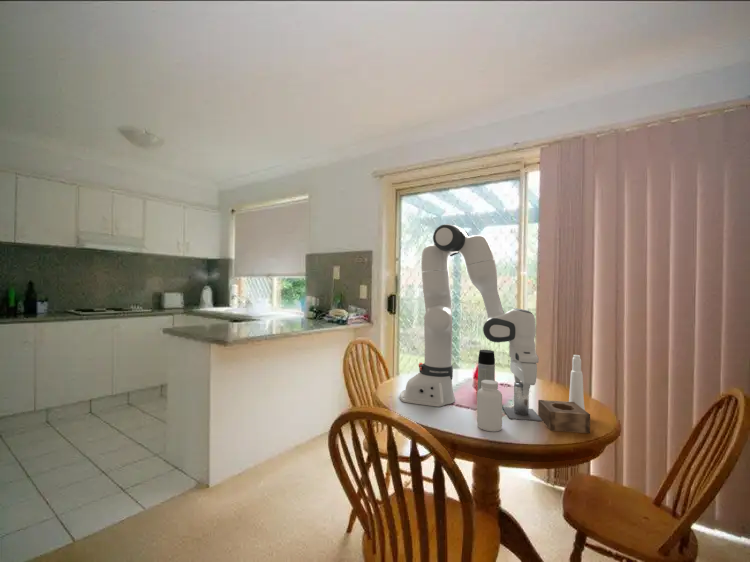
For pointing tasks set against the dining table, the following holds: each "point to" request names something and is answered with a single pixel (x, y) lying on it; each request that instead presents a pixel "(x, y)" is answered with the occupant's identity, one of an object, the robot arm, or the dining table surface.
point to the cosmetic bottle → (576, 382)
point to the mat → (531, 416)
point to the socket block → (564, 416)
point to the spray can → (486, 366)
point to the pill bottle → (489, 406)
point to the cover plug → (520, 400)
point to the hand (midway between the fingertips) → (521, 390)
